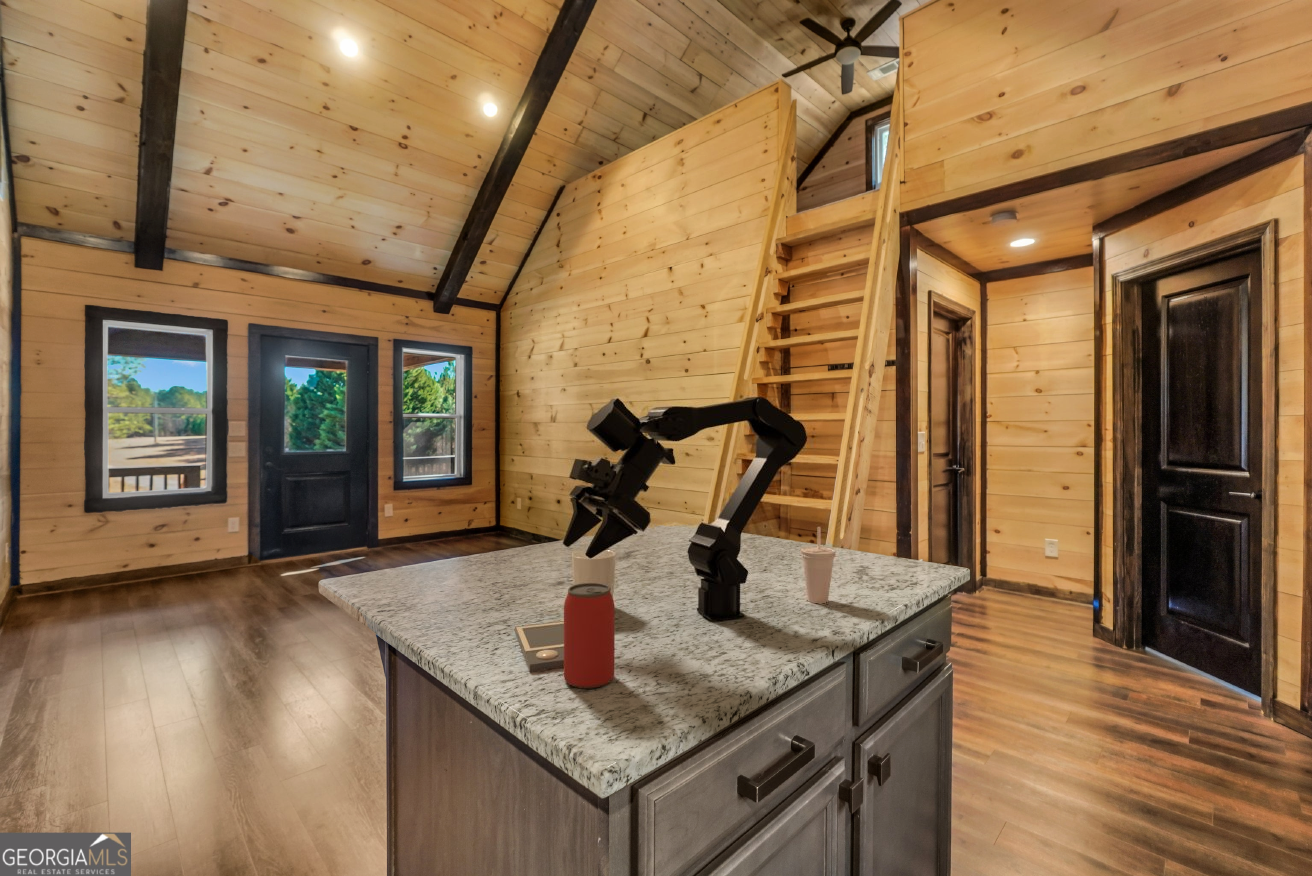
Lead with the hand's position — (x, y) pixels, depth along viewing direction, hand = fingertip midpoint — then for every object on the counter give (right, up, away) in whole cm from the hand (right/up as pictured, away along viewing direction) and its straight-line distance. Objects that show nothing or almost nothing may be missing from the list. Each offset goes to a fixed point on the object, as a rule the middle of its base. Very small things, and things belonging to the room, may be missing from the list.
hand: (575, 550), depth 90 cm
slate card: (-3, -14, -2) cm, 14 cm away
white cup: (+1, -14, +17) cm, 22 cm away
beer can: (+4, -15, -13) cm, 20 cm away
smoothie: (+43, -14, +22) cm, 50 cm away
